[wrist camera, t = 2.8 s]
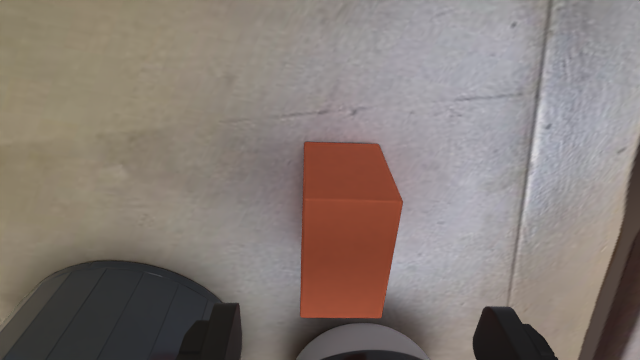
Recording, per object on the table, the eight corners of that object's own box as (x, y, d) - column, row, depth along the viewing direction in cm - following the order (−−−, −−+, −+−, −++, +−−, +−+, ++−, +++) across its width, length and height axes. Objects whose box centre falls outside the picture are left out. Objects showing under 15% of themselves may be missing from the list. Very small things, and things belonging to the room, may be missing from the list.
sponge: (301, 243, 20) (300, 318, 16) (304, 141, 17) (303, 198, 13) (365, 244, 20) (382, 318, 16) (379, 143, 17) (403, 201, 13)
